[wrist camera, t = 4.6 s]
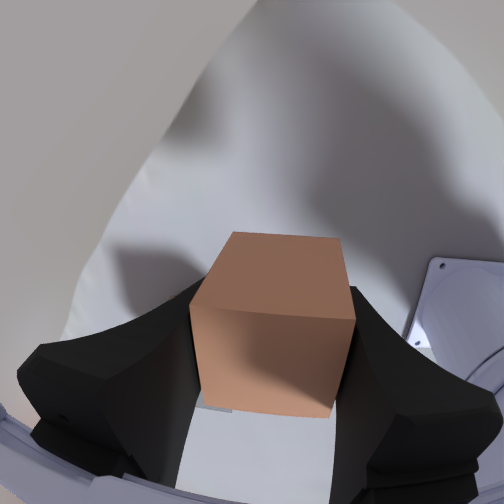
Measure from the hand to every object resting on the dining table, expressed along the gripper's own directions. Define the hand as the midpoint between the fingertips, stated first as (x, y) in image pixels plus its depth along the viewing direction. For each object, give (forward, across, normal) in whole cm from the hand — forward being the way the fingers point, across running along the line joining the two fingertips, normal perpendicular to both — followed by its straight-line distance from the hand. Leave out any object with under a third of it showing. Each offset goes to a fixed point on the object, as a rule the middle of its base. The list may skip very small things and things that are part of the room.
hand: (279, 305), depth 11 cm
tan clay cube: (+2, 0, 0) cm, 2 cm away
